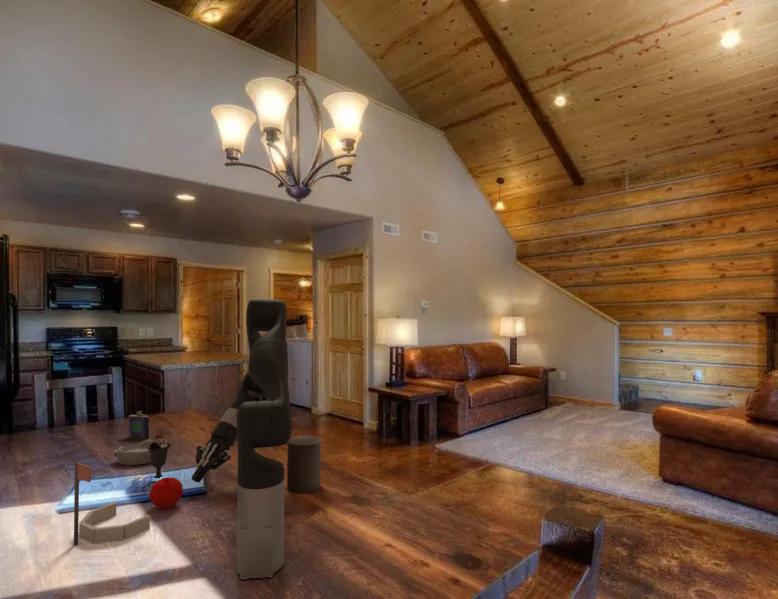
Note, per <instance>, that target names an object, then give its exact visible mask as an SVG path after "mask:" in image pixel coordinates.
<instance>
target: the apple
mask: <svg viewBox="0 0 778 599" xmlns="http://www.w3.org/2000/svg"><path fill="white" fill-rule="evenodd" d="M183 492H184V485H183V483H182V482H181V480H179V479H178V478H176V477H167V478H163V479H161V480H159V481H157V482H154V483H153V485H152V486H151V488H150V491H149V494H148V496H149V497H148V498H149V499H150V502H151V504H153V505H154V506H155V507H156V508H159V509H168V508H173V507H174V506H175V505H176V504H178V502H179V501H180V500H181V497H182V496H183Z"/></svg>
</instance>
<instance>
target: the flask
mask: <svg viewBox="0 0 778 599" xmlns="http://www.w3.org/2000/svg"><path fill="white" fill-rule="evenodd" d="M142 412H143V411H142V410H139V411H136V414H130V415H128V426H127V427H128V430H127V433H128V434H127V435H128V436H127V437H128V438H129V439H135V440H136V439H137V440H150V416H149V415H147V414H143V413H142Z"/></svg>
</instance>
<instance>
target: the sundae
mask: <svg viewBox="0 0 778 599" xmlns="http://www.w3.org/2000/svg"><path fill="white" fill-rule="evenodd" d="M151 440H152V442H151V444H150V445H149V446H148V447H147V449H149V453H150V460H151V463H150V464H151V466H152V467H153V468H155V469H156V470H155V471H156V473H155V475H154V476H153V477H154V478H160V477H162V476H163V474H162V472H161V471H162V468H163V466H164V465H165V464H166V463H167V458H168V452H169V448H171V446H172V445H171V442H167V440H166V439H164V436H163V435H162V428H161V427H160V428H159V432H158V434H156V435H155V437H153V439H151Z"/></svg>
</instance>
